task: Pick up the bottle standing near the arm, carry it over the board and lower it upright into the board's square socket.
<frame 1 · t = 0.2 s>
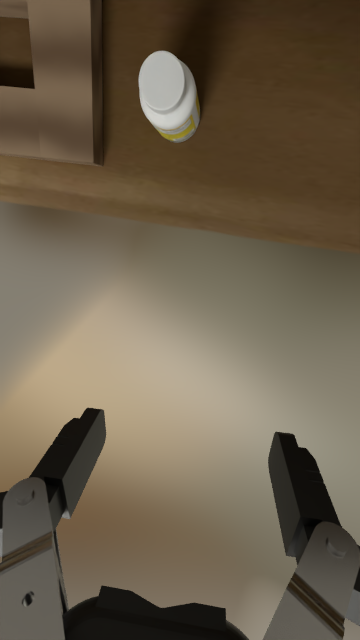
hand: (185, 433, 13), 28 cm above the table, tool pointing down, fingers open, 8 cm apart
supplement bottle: (177, 116, 32), on the table
socket board: (18, 58, 31), on the table
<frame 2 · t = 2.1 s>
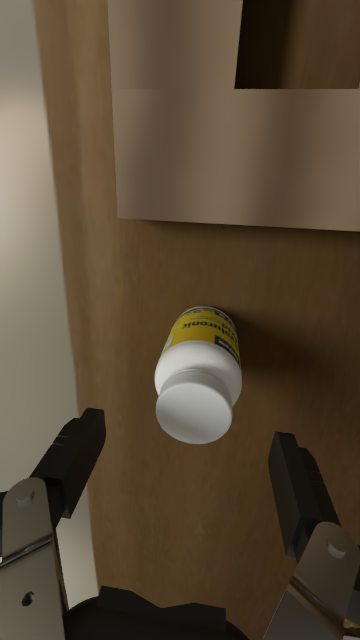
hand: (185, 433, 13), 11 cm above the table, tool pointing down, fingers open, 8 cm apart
supplement bottle: (204, 332, 23), on the table
socket board: (304, 30, 15), on the table
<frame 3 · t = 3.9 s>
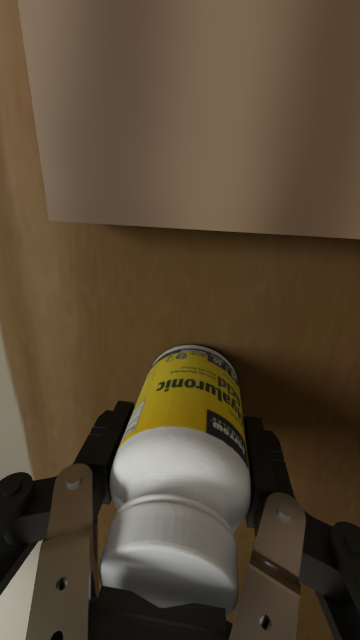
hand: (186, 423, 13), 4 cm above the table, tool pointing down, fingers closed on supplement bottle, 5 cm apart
supplement bottle: (192, 378, 17), on the table, touching gripper
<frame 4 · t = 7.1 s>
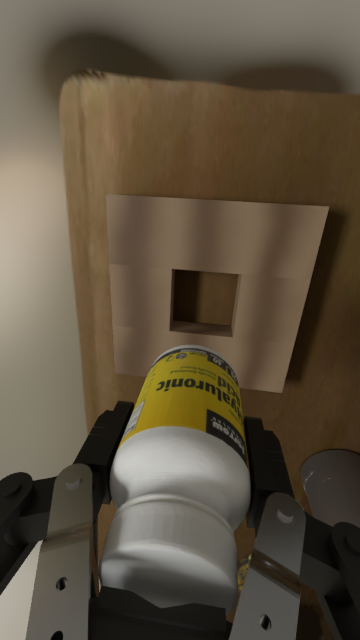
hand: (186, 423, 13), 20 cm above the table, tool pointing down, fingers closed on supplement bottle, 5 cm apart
seal: (258, 568, 52), on the table
supplement bottle: (192, 378, 17), point 16 cm above the table, touching gripper
socket board: (204, 295, 31), on the table
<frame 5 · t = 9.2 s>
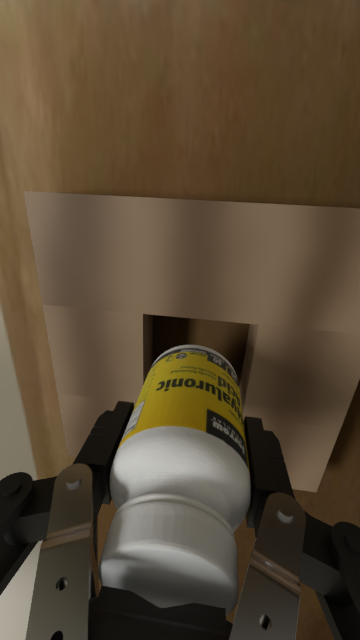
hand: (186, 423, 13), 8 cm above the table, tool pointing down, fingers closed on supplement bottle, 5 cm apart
supplement bottle: (192, 378, 17), point 4 cm above the table, touching gripper
socket board: (198, 346, 20), on the table
when the fingers open (5 cm above the table, at t = 10.7 s): supplement bottle drops 2 cm, resting in socket board.
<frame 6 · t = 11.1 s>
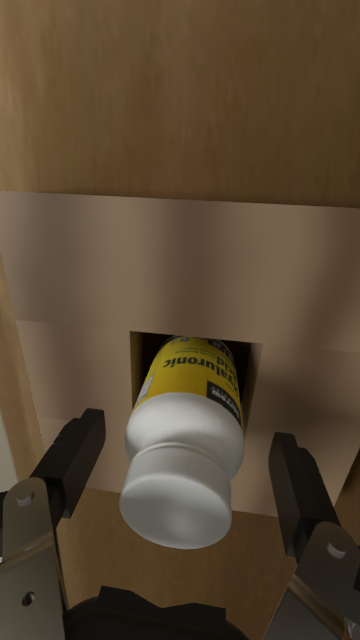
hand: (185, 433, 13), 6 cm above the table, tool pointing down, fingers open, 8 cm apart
supplement bottle: (194, 361, 18), resting in socket board
socket board: (194, 362, 18), on the table
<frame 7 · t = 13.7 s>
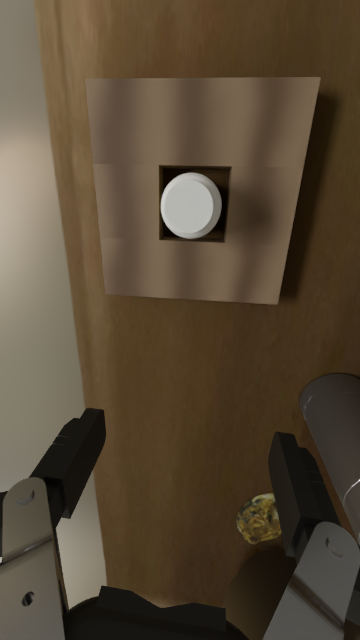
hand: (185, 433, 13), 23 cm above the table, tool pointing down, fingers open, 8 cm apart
seal: (261, 513, 51), on the table
supplement bottle: (194, 205, 30), resting in socket board
socket board: (194, 204, 30), on the table
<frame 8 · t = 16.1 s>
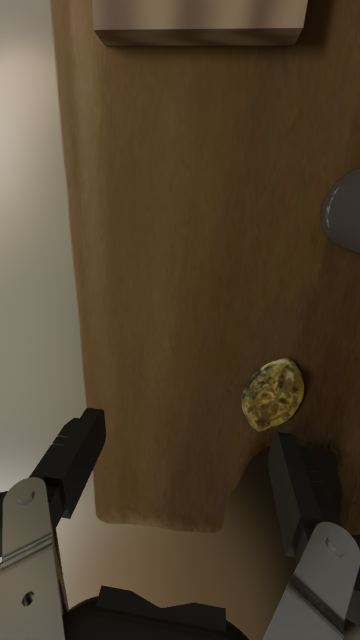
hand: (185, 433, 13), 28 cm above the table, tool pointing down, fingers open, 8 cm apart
seal: (270, 392, 45), on the table
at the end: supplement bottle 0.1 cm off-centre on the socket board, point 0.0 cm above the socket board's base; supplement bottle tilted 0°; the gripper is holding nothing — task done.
